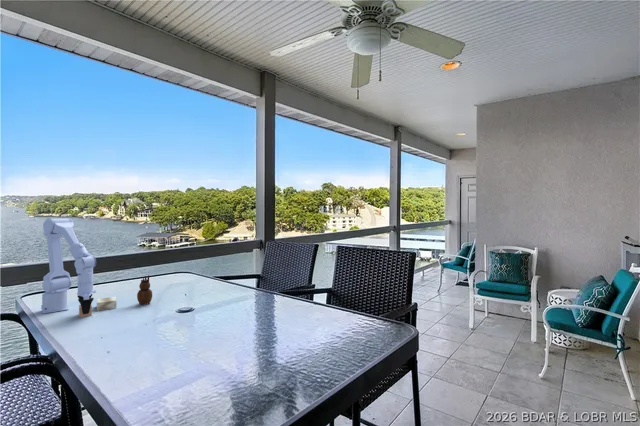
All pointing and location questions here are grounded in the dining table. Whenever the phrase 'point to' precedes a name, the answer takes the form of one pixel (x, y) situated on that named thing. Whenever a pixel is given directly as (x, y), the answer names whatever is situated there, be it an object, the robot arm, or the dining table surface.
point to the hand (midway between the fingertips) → (85, 311)
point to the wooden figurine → (144, 292)
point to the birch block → (106, 303)
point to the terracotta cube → (84, 314)
